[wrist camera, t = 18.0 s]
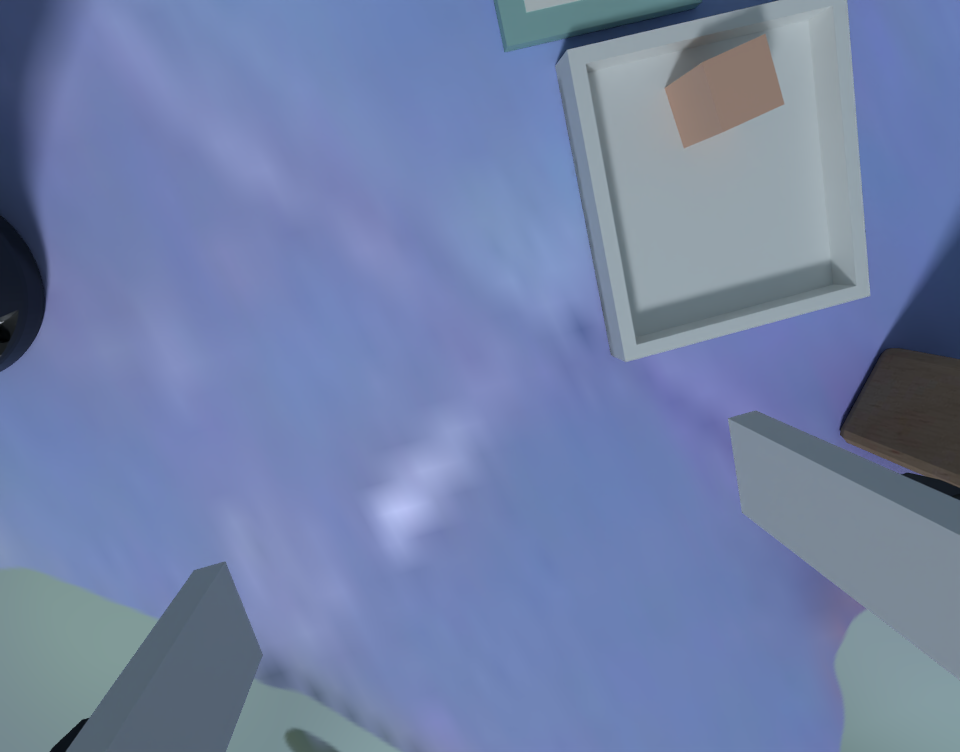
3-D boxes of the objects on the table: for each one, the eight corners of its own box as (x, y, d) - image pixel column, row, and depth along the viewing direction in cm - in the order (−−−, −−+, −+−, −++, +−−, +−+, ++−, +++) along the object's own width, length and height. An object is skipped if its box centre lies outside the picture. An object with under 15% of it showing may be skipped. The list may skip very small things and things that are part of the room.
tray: (611, 355, 50) (625, 362, 46) (555, 65, 44) (566, 49, 41) (839, 293, 51) (870, 295, 48) (813, 5, 45) (845, -16, 42)
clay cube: (683, 148, 46) (723, 132, 40) (664, 88, 45) (702, 62, 39) (737, 123, 46) (784, 104, 40) (719, 63, 45) (765, 33, 39)
